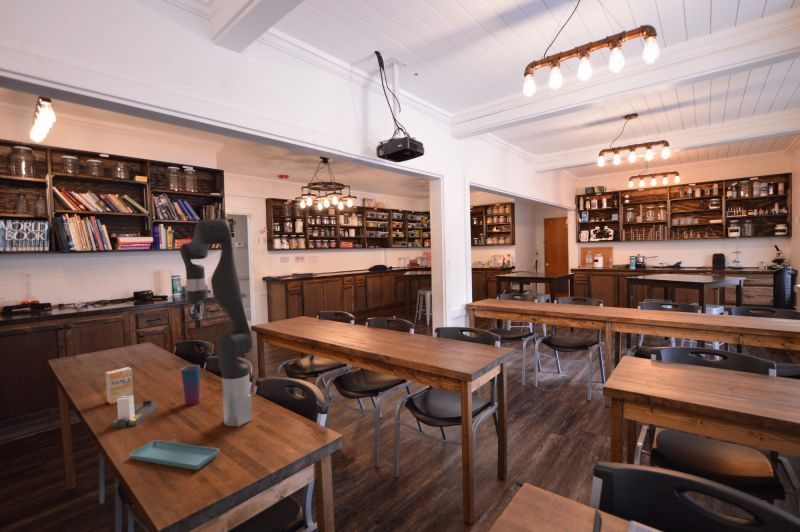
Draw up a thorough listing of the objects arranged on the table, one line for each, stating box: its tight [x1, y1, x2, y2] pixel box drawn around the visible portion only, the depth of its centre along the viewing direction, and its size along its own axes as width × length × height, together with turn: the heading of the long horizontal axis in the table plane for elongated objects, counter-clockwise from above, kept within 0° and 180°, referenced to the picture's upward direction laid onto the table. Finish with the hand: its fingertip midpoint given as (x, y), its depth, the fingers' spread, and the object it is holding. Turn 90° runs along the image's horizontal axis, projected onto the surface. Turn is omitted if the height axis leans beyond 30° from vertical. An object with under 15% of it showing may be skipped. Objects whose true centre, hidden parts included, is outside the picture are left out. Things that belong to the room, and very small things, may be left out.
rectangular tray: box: [128, 439, 220, 471], centre depth 116 cm, size 26×9×2 cm, turn 74°
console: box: [109, 399, 160, 429], centre depth 145 cm, size 18×9×3 cm, turn 7°
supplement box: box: [105, 366, 134, 405], centre depth 161 cm, size 8×5×13 cm, turn 143°
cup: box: [180, 364, 201, 406], centre depth 156 cm, size 7×7×15 cm
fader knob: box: [116, 395, 135, 420], centre depth 139 cm, size 3×4×8 cm
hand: (198, 328), depth 165 cm, fingers closed
